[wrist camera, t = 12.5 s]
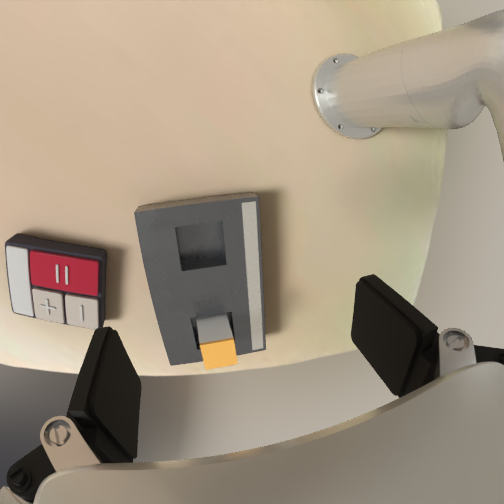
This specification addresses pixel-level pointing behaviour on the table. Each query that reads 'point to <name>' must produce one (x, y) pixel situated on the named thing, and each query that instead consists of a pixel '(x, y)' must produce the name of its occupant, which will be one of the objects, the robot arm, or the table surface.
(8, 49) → the table surface
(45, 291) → the calculator
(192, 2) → the table surface
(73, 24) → the table surface
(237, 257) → the port panel
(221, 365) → the plug
